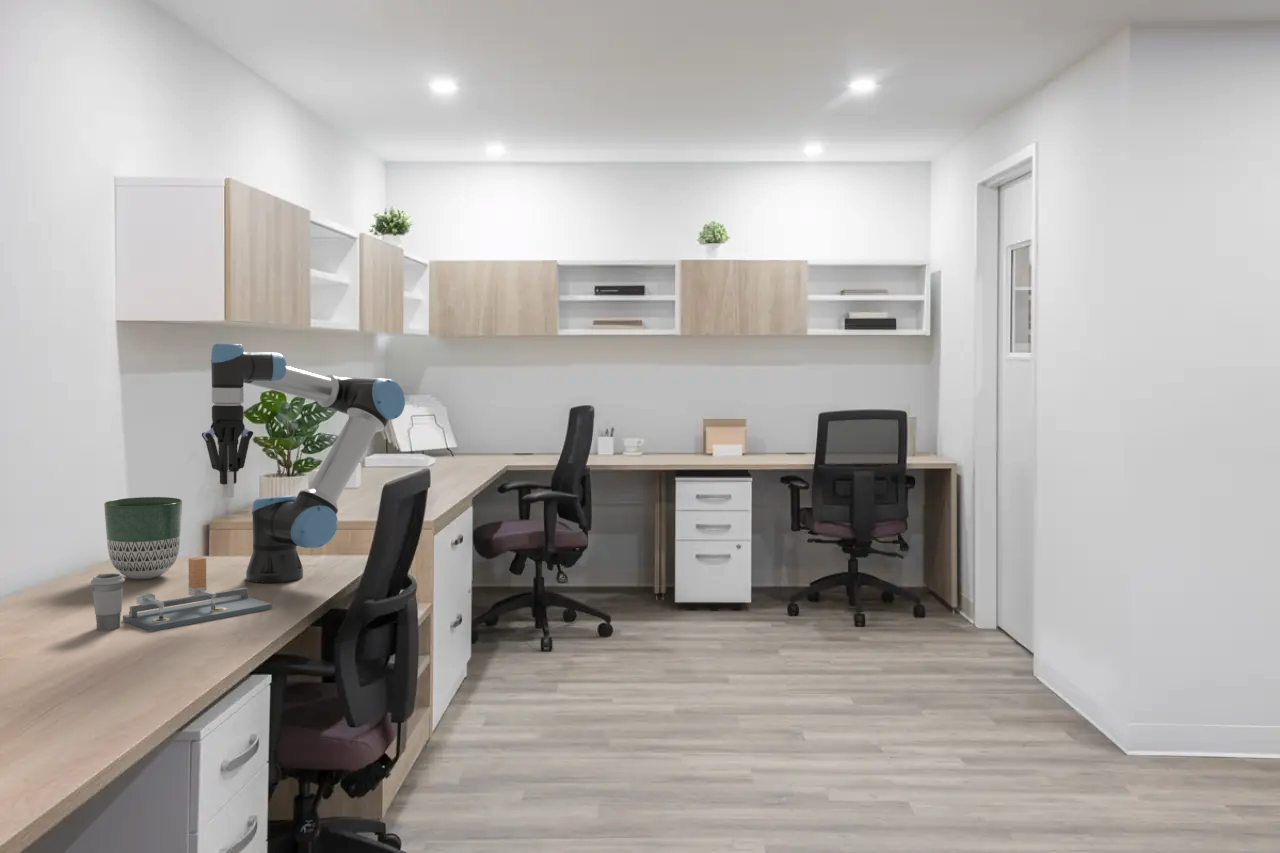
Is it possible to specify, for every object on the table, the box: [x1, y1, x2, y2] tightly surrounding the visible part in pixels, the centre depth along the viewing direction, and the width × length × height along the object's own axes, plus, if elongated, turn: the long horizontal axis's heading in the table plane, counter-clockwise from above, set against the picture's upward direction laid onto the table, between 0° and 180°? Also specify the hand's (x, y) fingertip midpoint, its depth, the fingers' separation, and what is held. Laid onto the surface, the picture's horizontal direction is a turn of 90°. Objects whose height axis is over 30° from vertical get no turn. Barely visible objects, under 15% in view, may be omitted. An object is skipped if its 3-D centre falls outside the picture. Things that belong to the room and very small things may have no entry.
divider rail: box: [128, 587, 250, 619], centre depth 251 cm, size 29×10×5 cm, turn 140°
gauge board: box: [122, 594, 273, 632], centre depth 251 cm, size 30×14×1 cm, turn 140°
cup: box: [90, 572, 126, 631], centre depth 237 cm, size 7×7×12 cm
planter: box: [103, 496, 183, 580], centre depth 290 cm, size 20×20×21 cm
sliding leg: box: [188, 556, 216, 610], centre depth 252 cm, size 3×10×11 cm, turn 50°
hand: (228, 496), depth 266 cm, fingers closed
